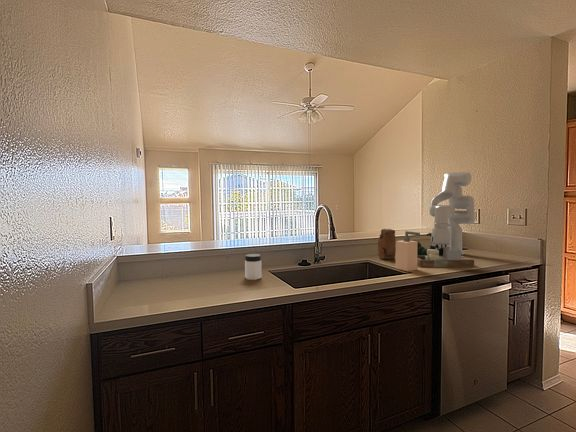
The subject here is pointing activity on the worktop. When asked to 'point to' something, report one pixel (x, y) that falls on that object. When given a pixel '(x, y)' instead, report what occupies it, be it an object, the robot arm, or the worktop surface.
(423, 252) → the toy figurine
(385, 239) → the block
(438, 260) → the walnut deck
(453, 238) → the robot arm
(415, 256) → the soap dispenser
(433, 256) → the birch cube
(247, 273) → the jar
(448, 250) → the tunnel walls
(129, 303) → the worktop surface
